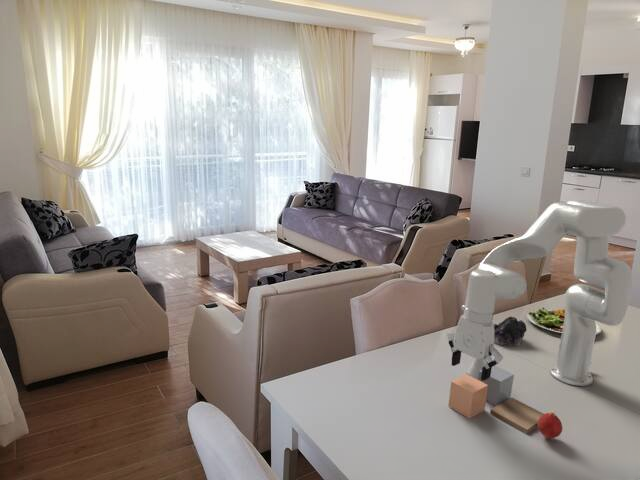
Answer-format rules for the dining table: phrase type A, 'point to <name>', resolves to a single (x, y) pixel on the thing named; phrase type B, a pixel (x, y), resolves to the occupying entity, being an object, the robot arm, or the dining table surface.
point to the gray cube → (498, 385)
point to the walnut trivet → (517, 414)
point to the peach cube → (468, 395)
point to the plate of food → (551, 319)
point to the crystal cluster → (509, 332)
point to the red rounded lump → (550, 425)
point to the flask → (475, 368)
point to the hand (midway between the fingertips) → (469, 371)
